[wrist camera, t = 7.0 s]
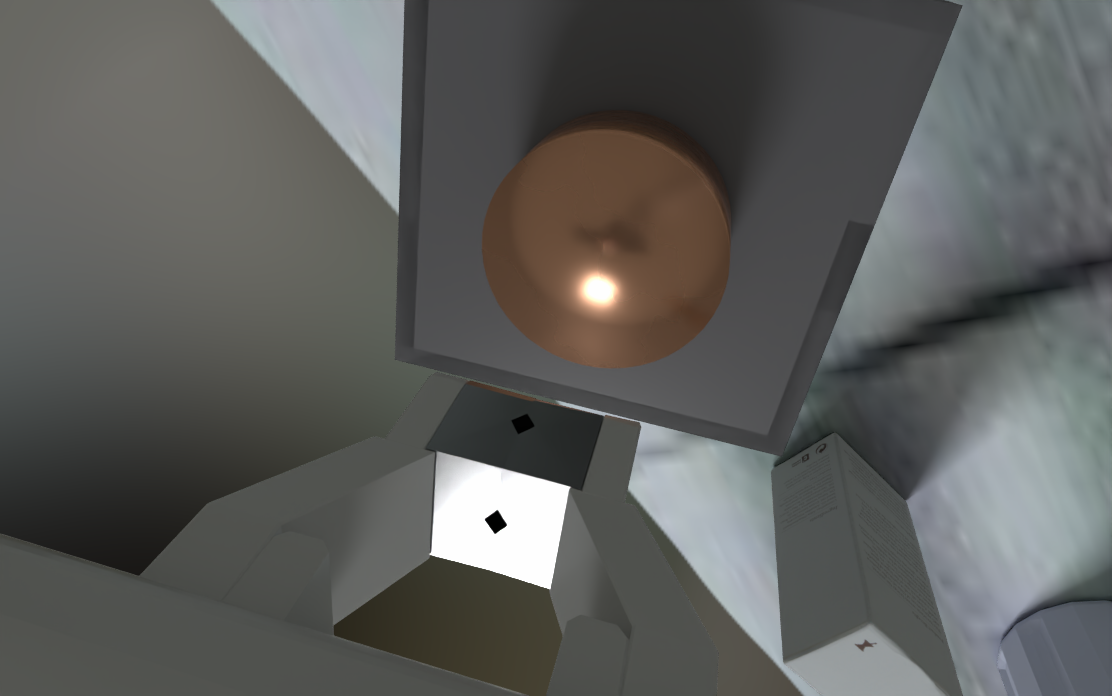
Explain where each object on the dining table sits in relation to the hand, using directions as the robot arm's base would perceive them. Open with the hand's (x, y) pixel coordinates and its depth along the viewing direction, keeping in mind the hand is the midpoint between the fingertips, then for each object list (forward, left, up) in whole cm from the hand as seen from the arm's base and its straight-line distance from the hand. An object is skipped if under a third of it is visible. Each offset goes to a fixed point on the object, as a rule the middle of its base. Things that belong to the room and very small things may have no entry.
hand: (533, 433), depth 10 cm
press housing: (0, 0, -24) cm, 24 cm away
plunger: (0, 0, -22) cm, 22 cm away
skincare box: (+17, +13, -24) cm, 32 cm away
